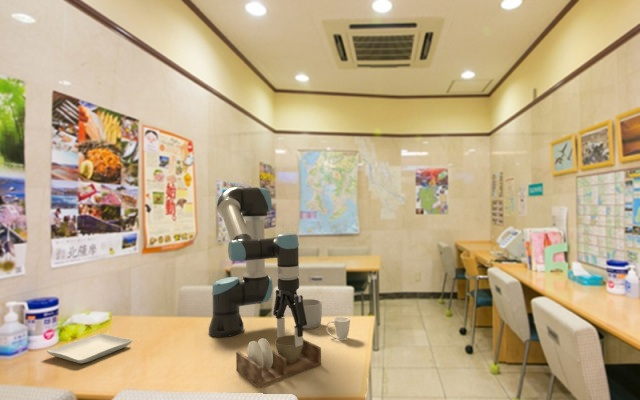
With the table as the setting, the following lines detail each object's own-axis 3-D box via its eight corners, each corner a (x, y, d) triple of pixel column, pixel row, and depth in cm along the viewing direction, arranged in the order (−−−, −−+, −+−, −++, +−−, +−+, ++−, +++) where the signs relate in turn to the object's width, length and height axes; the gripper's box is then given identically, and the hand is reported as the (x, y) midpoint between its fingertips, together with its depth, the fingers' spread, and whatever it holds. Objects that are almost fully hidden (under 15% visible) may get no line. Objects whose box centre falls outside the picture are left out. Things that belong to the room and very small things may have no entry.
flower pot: (290, 352, 131) (290, 332, 132) (309, 359, 124) (309, 339, 125) (269, 361, 124) (269, 340, 124) (288, 369, 117) (288, 347, 117)
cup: (349, 342, 143) (349, 321, 143) (325, 341, 144) (325, 321, 145) (351, 335, 150) (351, 316, 150) (328, 335, 151) (327, 316, 152)
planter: (322, 330, 157) (321, 305, 158) (294, 331, 157) (293, 306, 158) (322, 321, 170) (321, 298, 170) (296, 322, 170) (296, 299, 170)
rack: (236, 369, 120) (236, 351, 120) (295, 351, 135) (294, 335, 135) (259, 387, 108) (258, 367, 108) (321, 365, 122) (320, 347, 122)
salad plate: (134, 347, 144) (134, 338, 144) (80, 369, 124) (80, 359, 125) (100, 340, 153) (100, 332, 153) (45, 360, 133) (45, 350, 133)
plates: (247, 367, 119) (247, 337, 120) (258, 363, 122) (258, 334, 122) (261, 378, 112) (261, 346, 112) (273, 374, 114) (272, 342, 114)
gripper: (262, 274, 132) (264, 334, 131) (298, 284, 113) (299, 353, 113) (280, 272, 136) (281, 330, 136) (316, 281, 118) (318, 347, 117)
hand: (289, 340), depth 124 cm, fingers open, 11 cm apart
